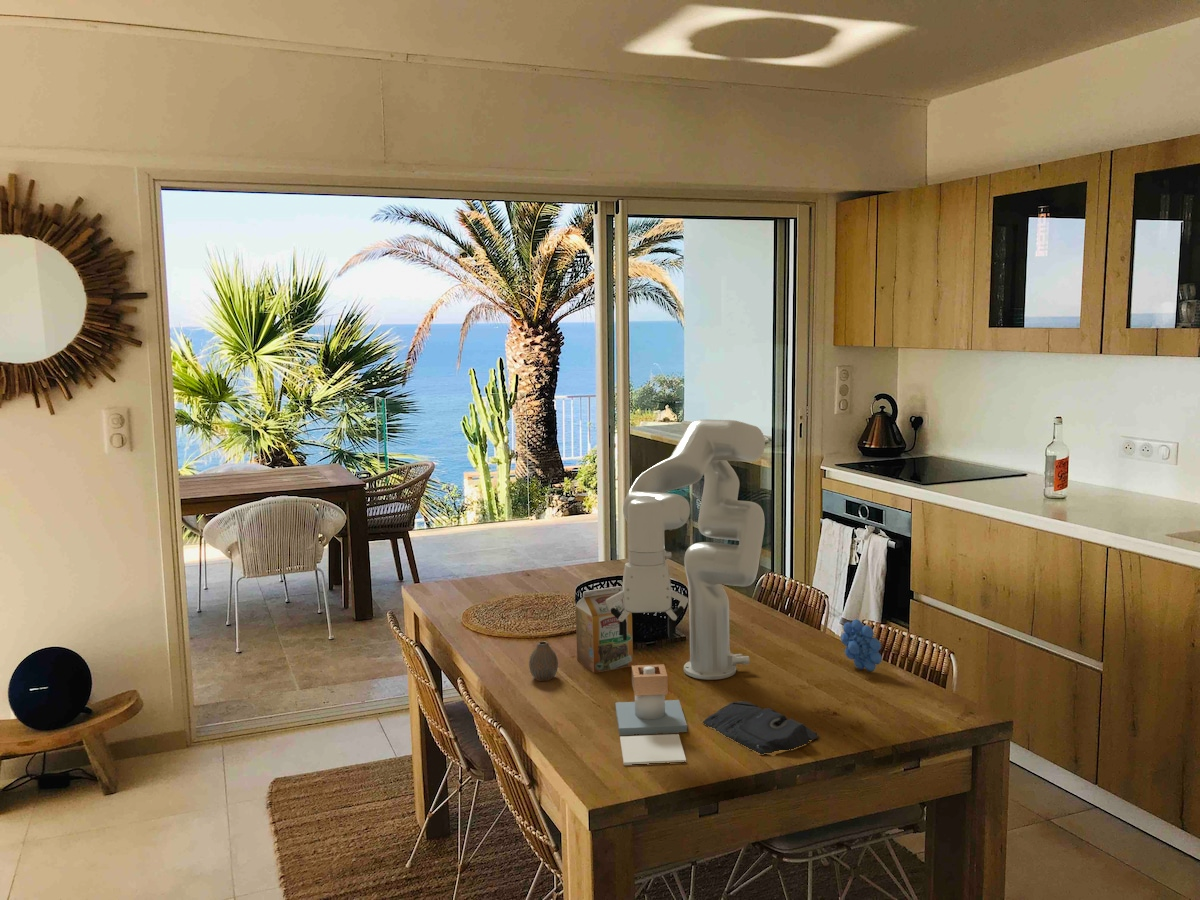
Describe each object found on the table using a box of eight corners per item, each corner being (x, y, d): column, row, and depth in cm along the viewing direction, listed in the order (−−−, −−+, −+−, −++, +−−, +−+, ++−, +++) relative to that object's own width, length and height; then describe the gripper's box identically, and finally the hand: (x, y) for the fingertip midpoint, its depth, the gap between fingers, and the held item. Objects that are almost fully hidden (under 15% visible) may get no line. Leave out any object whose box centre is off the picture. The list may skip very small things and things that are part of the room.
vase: (554, 684, 234) (553, 648, 233) (526, 682, 236) (524, 646, 234) (561, 673, 241) (560, 638, 240) (534, 672, 242) (532, 637, 241)
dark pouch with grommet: (752, 708, 218) (752, 687, 217) (824, 742, 199) (825, 719, 199) (696, 724, 210) (696, 703, 209) (767, 761, 191) (767, 738, 190)
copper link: (664, 682, 214) (664, 664, 213) (667, 694, 207) (667, 675, 207) (631, 683, 214) (631, 665, 213) (634, 695, 207) (633, 677, 206)
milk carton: (594, 673, 241) (591, 596, 238) (577, 660, 250) (574, 586, 248) (633, 665, 245) (631, 591, 243) (615, 653, 255) (613, 581, 252)
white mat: (678, 736, 203) (678, 734, 202) (686, 762, 191) (686, 759, 191) (620, 739, 202) (619, 736, 202) (623, 765, 190) (623, 762, 190)
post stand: (679, 706, 218) (678, 656, 217) (687, 732, 205) (686, 678, 203) (615, 709, 218) (614, 658, 216) (619, 735, 204) (618, 681, 203)
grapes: (829, 666, 240) (830, 618, 239) (847, 660, 245) (848, 613, 243) (869, 679, 231) (869, 630, 230) (887, 673, 235) (887, 624, 234)
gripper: (685, 553, 211) (686, 631, 213) (604, 555, 210) (605, 633, 212) (690, 560, 203) (690, 642, 205) (605, 562, 203) (607, 644, 204)
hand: (647, 637), depth 208 cm, fingers open, 9 cm apart
